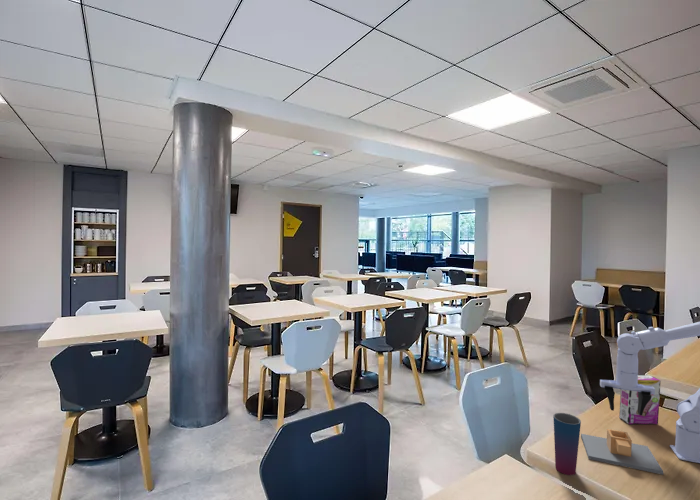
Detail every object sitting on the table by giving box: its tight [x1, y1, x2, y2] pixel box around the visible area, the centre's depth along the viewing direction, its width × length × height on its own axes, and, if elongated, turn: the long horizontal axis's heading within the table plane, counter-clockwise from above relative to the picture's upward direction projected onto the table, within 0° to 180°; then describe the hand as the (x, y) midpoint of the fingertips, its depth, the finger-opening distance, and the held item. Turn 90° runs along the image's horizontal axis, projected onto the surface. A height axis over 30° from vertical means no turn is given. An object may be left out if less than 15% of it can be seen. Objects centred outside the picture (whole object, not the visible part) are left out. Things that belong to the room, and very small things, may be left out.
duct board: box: [580, 433, 664, 475], centre depth 116 cm, size 18×14×4 cm
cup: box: [553, 412, 582, 476], centre depth 107 cm, size 7×7×15 cm
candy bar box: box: [618, 374, 662, 425], centre depth 136 cm, size 11×5×16 cm, turn 92°
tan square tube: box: [606, 428, 633, 457], centre depth 114 cm, size 9×5×5 cm, turn 156°
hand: (625, 411), depth 124 cm, fingers open, 7 cm apart
